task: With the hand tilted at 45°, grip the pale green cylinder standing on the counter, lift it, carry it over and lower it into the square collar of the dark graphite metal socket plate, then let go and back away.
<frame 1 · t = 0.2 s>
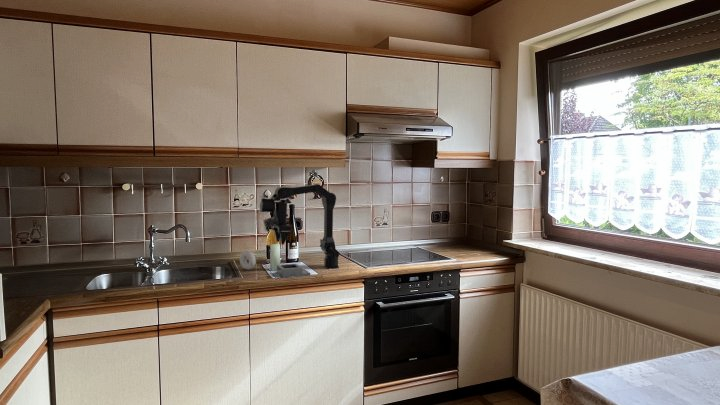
hand: (280, 243, 226), 15 cm above the worktop, tool pointing down, fingers open, 9 cm apart
pale green cylinder: (275, 269, 231), on the worktop
socket: (289, 274, 222), on the worktop
donut: (247, 270, 230), on the worktop
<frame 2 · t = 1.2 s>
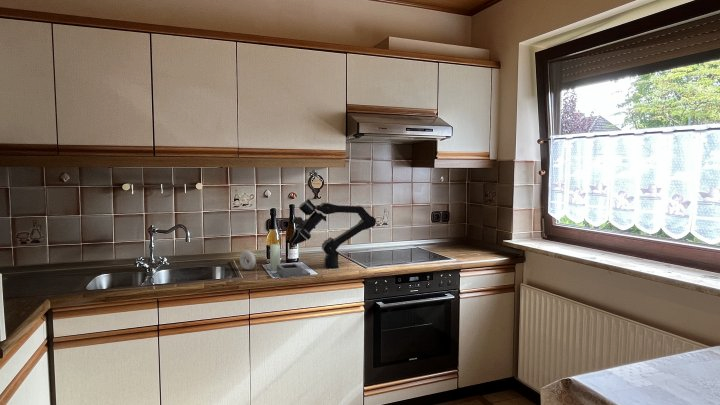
hand: (291, 243, 232), 13 cm above the worktop, tool tilted 45°, fingers open, 9 cm apart
nothing on the worktop moved.
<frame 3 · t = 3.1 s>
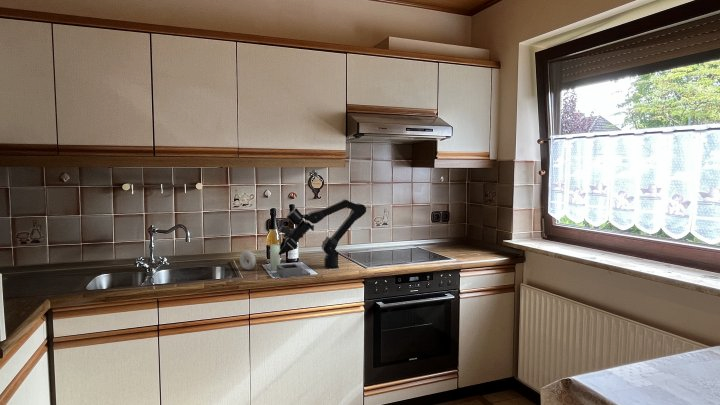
hand: (278, 252, 230), 9 cm above the worktop, tool tilted 45°, fingers open, 9 cm apart
nothing on the worktop moved.
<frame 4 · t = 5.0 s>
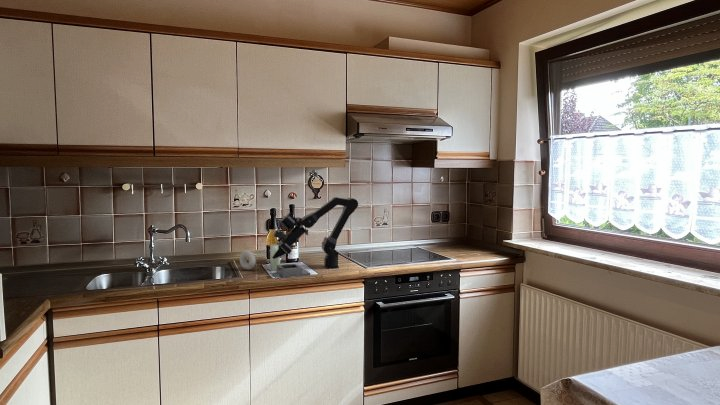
hand: (272, 257, 230), 7 cm above the worktop, tool tilted 45°, fingers closed on pale green cylinder, 5 cm apart
pale green cylinder: (275, 269, 231), on the worktop, touching gripper
everything else where it was.
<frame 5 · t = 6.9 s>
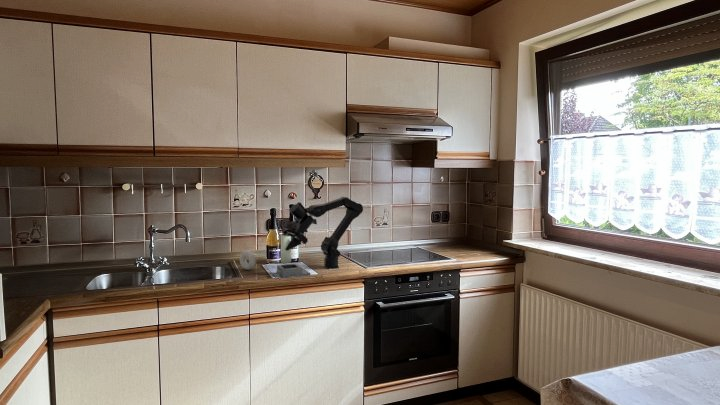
hand: (283, 249, 221), 12 cm above the worktop, tool tilted 45°, fingers closed on pale green cylinder, 5 cm apart
pale green cylinder: (286, 262, 223), point 6 cm above the worktop, touching gripper
everything else where it was.
when the fingers open (9 cm above the worktop, at t = 8.7 s): pale green cylinder drops 1 cm, resting on socket.
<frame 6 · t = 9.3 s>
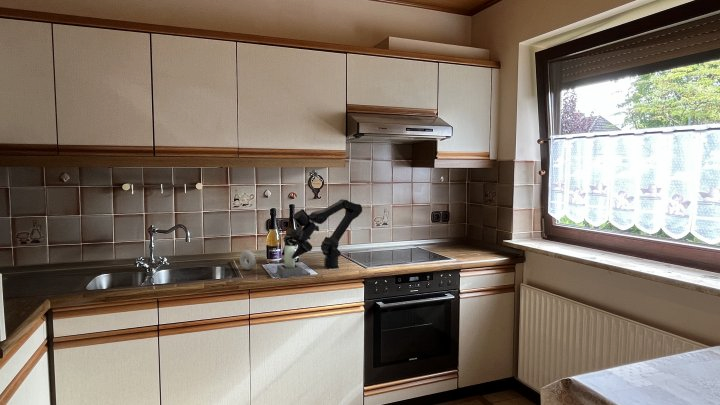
hand: (287, 256, 220), 9 cm above the worktop, tool tilted 45°, fingers open, 9 cm apart
pale green cylinder: (289, 272, 222), point 1 cm above the worktop, touching socket
everything else where it was.
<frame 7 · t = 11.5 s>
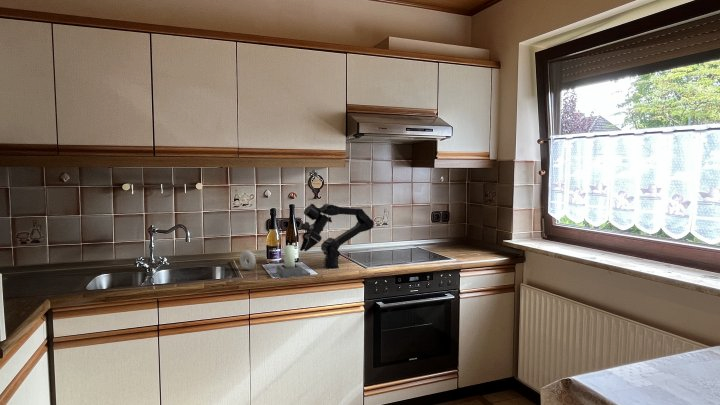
hand: (302, 250, 228), 10 cm above the worktop, tool tilted 35°, fingers open, 9 cm apart
nothing on the worktop moved.
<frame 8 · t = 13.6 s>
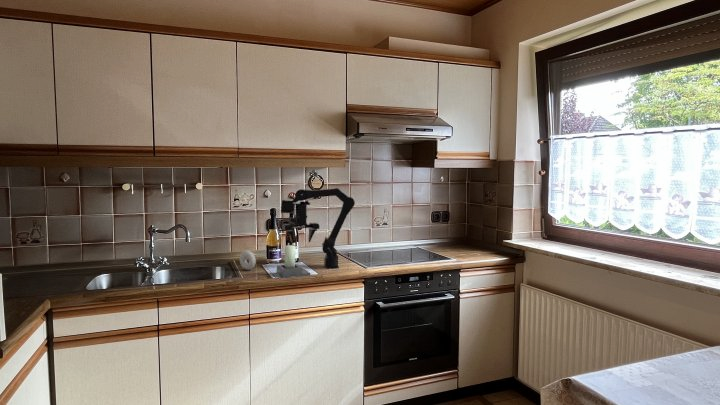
hand: (300, 242, 236), 13 cm above the worktop, tool pointing down, fingers open, 9 cm apart
nothing on the worktop moved.
at the end: pale green cylinder 0.0 cm off-centre on the socket, point 1.1 cm above the socket's base; pale green cylinder tilted 3°; the gripper is holding nothing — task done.
